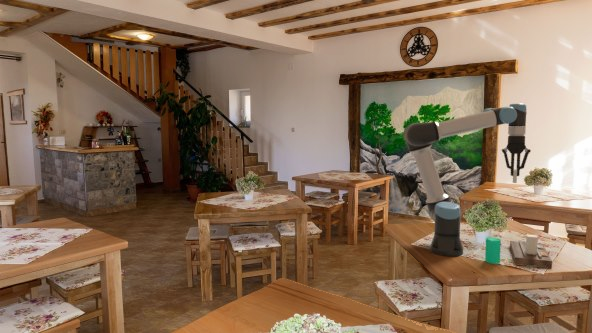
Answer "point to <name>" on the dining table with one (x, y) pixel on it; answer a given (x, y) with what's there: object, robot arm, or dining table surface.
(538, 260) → the switch board
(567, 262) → the dining table surface
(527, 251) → the switch tab
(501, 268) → the dining table surface
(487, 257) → the candle
